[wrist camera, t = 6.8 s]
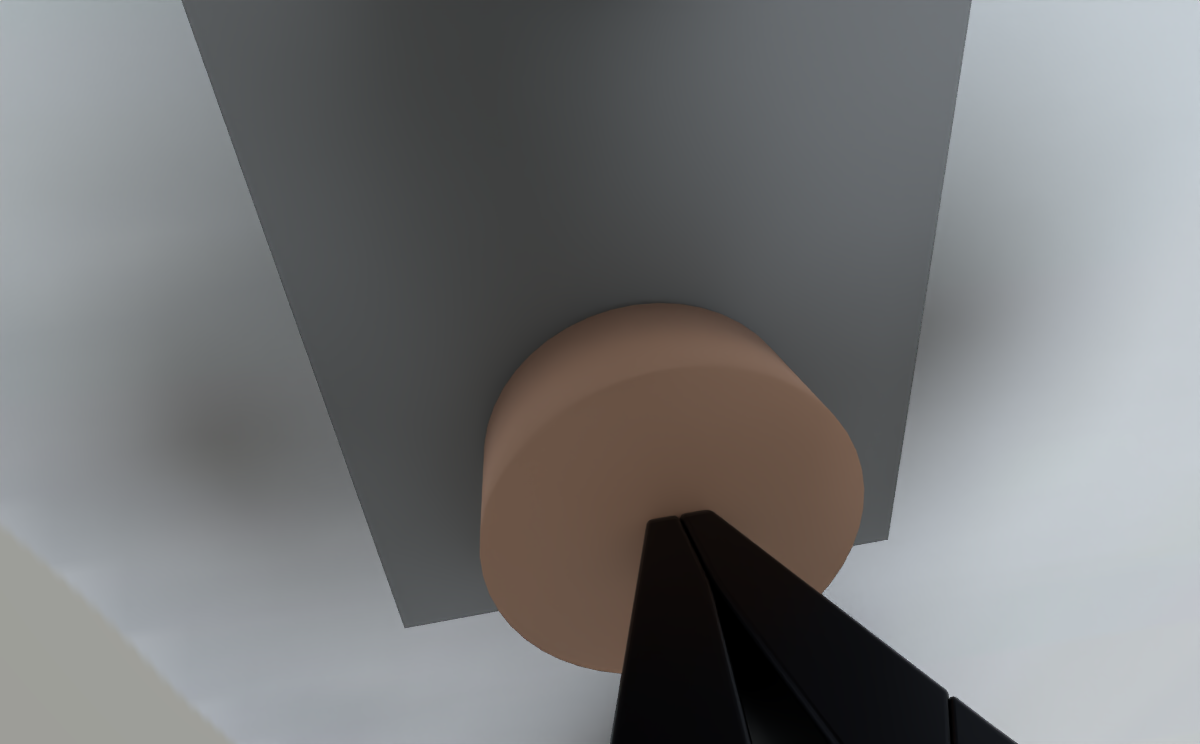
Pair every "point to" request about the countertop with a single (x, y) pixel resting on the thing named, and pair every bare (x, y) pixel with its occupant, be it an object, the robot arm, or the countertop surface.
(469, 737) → the countertop surface
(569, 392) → the knob
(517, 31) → the knob strip
